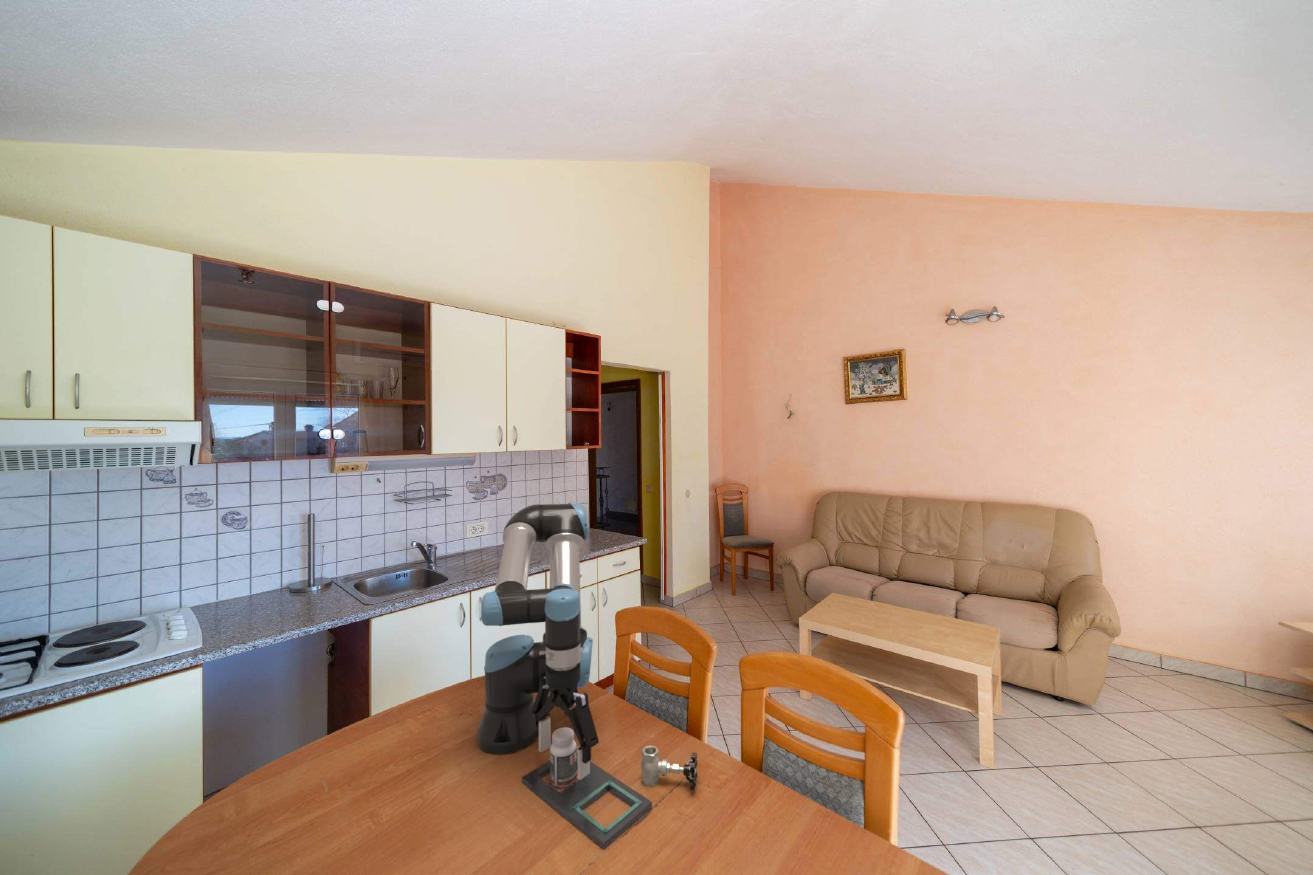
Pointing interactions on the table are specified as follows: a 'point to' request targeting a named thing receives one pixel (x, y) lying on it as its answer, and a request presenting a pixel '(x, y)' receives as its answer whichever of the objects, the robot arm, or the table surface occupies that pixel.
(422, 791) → the table surface
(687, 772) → the valve
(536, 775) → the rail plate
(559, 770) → the pill bottle
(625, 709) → the table surface
